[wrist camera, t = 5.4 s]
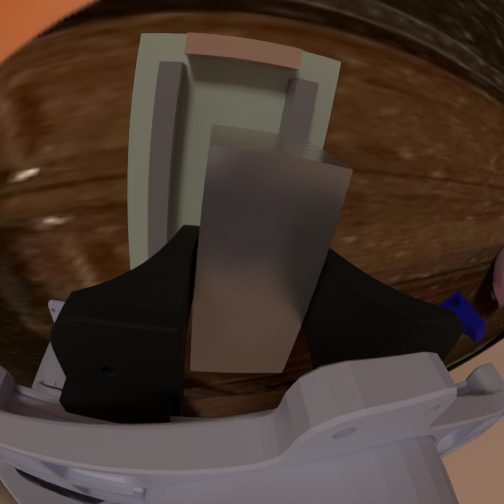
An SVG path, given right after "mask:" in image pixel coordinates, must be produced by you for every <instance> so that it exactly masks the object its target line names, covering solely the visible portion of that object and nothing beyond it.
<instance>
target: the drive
mask: <svg viewBox="0 0 504 504" xmlns="http://www.w3.org/2000/svg"><path fill="white" fill-rule="evenodd" d="M352 171H353V169H351V168H350V167H349V166H347V165H346V164H344V163H343V162H341V161H340V160H338V159H337V158H335V157H333V156H332V155H330V154H329V153H327V152H326V151H324V150H322V149H321V148H319V147H318V146H316V145H314V144H313V143H311V142H310V141H308V140H306V139H304V138H300V137H294V136H289V135H284V134H278V133H273V132H267V131H261V130H254V129H247V128H240V127H233V126H225V125H217V124H212V129H211V136H210V143H209V150H208V158H207V165H206V173H205V182H204V190H203V199H202V208H201V217H200V228H199V239H198V250H197V262H196V274H195V288H194V301H193V319H192V339H191V366H190V371H205V372H229V373H282V372H283V369H284V367H285V364H286V362H287V360H288V357H289V355H290V352H291V350H292V348H293V345H294V343H295V340H296V338H297V335H298V332H299V330H300V327H301V325H302V322H303V320H304V317H305V314H306V312H307V309H308V306H309V304H310V301H311V298H312V296H313V293H314V290H315V287H316V285H317V282H318V279H319V276H320V273H321V270H322V267H323V265H324V262H325V259H326V256H327V253H328V250H329V247H330V244H331V241H332V238H333V235H334V231H335V228H336V225H337V222H338V219H339V215H340V212H341V209H342V206H343V202H344V199H345V196H346V192H347V189H348V185H349V182H350V178H351V175H352Z"/></svg>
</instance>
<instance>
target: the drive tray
mask: <svg viewBox="0 0 504 504" xmlns="http://www.w3.org/2000/svg"><path fill="white" fill-rule="evenodd" d="M340 65H341V62H340V61H336V60H333V59H330V58H326V57H323V56H319V55H316V54H312V53H308V52H304V51H303V50H302V49H298V48H294V47H289V46H285V45H280V44H275V43H270V42H265V41H259V40H253V39H247V38H240V37H232V36H224V35H214V34H202V33H188V34H168V33H150V34H141V40H140V45H139V51H138V58H137V64H136V72H135V79H134V87H133V97H132V107H131V118H130V132H129V152H128V231H129V251H130V265H131V270H132V269H134V268H136V267H137V266H139V265H141V264H142V263H144V262H145V261H147V260H148V259H149V258H151V257H152V256H153V255H154V254H155V253H157V252H158V251H159V250H160V249H161V248H162V247H163V246H165V245H166V243H167V242H168V241H169V240H170V239H171V238H172V237H173V236H174V235H175V234H176V233H177V232H178V231H179V229H180V228H181V227H182V226H183V225H184V224H185V225H196V226H200V217H201V208H202V199H203V190H204V182H205V173H206V165H207V158H208V150H209V143H210V136H211V129H212V124H217V125H225V126H233V127H240V128H247V129H254V130H261V131H267V132H273V133H278V134H284V135H289V136H294V137H300V138H304V139H306V140H308V141H310V142H311V143H313V144H314V145H316V146H318V147H319V148H321V149H322V150H323V146H324V141H325V137H326V132H327V128H328V123H329V119H330V114H331V110H332V105H333V100H334V95H335V90H336V85H337V80H338V75H339V70H340Z"/></svg>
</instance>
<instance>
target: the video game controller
mask: <svg viewBox="0 0 504 504" xmlns="http://www.w3.org/2000/svg"><path fill="white" fill-rule="evenodd" d="M493 288H494V293H493V291H491V296H492V298H493V300H495V298H496V299H497V301H498V303H499V305H500V306H503V307H504V248H502V249H501V250H500V251H499V253H498V255H497V257H496V260H495V264H494V273H493Z"/></svg>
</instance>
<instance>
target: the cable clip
mask: <svg viewBox="0 0 504 504" xmlns="http://www.w3.org/2000/svg"><path fill="white" fill-rule="evenodd" d="M440 306H442V307H445V308H449V309H452V310H453V311H454V312H455V313H456V314H457V316H458V317H459V318H460V319H461V321H462V324H463V327H462V333H463V334H465V335H467V336H469V337H470V338H471V339H472V340H473V341H474V342H475V343H477V342H478V341H479V340H480V339H481V338H483V337H484V336H485V324H486V323H485V322H484V321H483V320H482V318H481V317H480V316H479V315H478V313H477V312H476V311H475V310H474V308H473V307H472V306H471V305H470V304H469V302H468V301H467V300H466V299H465V298H464V297H463V295H462V294H461V293H460V292H459V291H458V292H456V293H455V294H454V295H453V296H451V297H450V298H449V299H448V300H446V301H445V302H444V303H442V304H441V305H440Z"/></svg>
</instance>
